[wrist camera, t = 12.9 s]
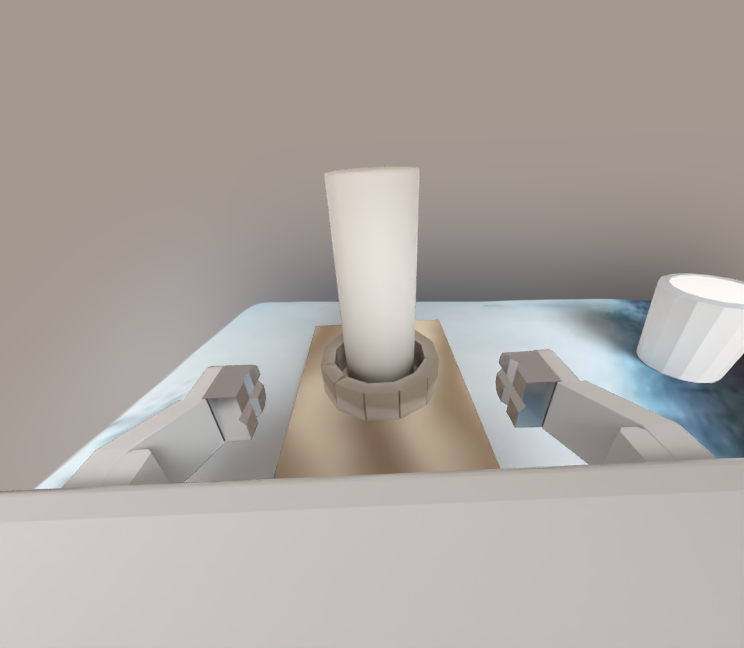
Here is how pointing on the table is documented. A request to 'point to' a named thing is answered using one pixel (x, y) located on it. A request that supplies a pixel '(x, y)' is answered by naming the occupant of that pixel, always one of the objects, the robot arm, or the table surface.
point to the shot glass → (694, 327)
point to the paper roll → (376, 267)
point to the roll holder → (383, 415)
